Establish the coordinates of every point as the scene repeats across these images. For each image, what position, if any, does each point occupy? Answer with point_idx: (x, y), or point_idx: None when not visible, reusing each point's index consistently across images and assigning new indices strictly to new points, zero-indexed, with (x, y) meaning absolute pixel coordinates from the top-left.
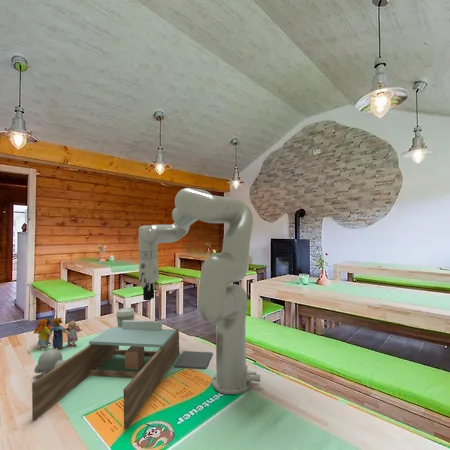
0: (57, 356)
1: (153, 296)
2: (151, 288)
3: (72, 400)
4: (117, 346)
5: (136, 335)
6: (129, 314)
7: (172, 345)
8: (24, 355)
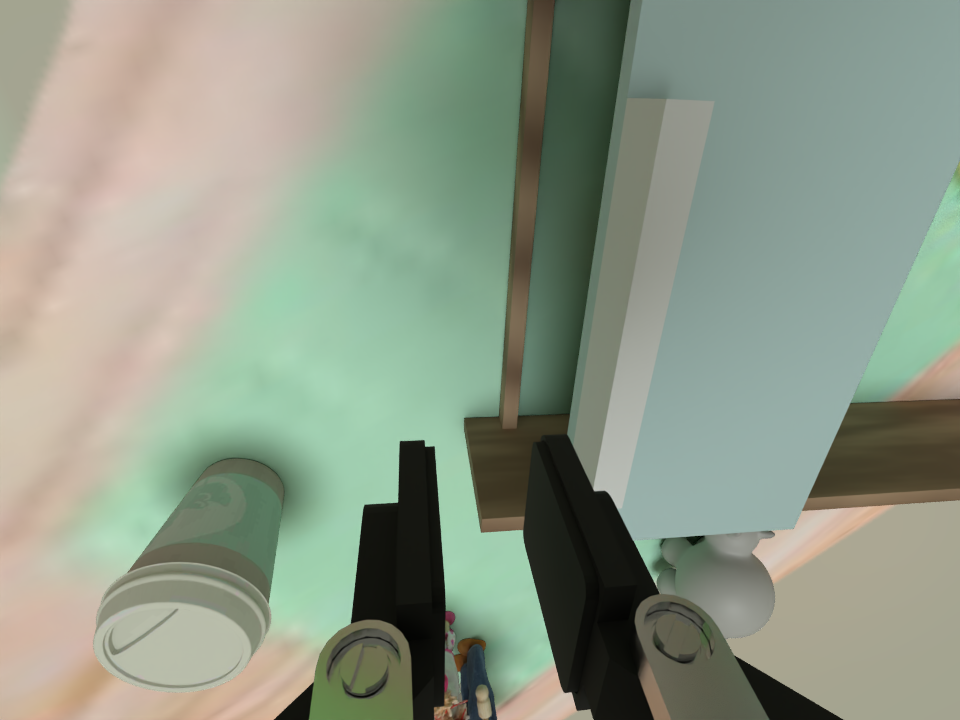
0: (752, 577)
1: (425, 461)
2: (431, 656)
3: (898, 358)
4: (484, 435)
5: (760, 293)
6: (222, 581)
7: None
8: (534, 697)
